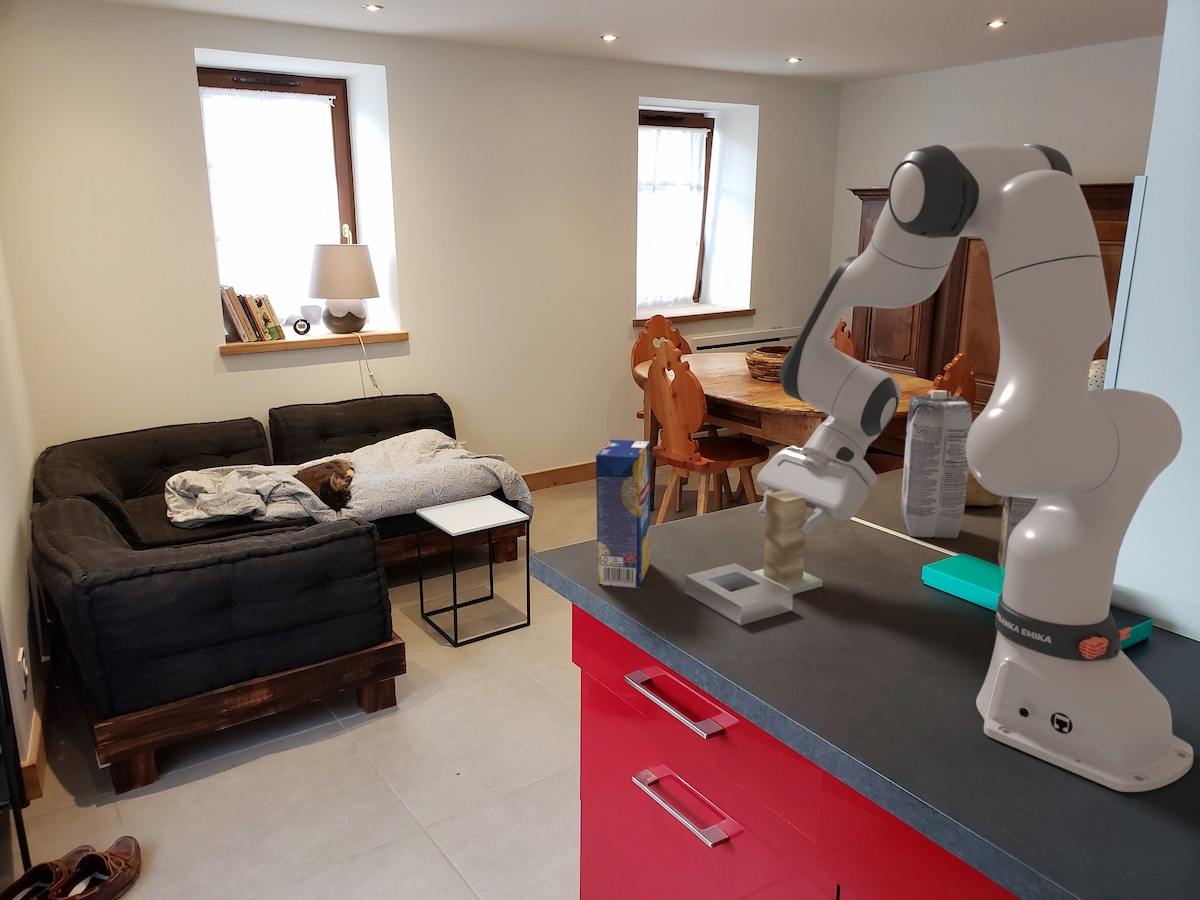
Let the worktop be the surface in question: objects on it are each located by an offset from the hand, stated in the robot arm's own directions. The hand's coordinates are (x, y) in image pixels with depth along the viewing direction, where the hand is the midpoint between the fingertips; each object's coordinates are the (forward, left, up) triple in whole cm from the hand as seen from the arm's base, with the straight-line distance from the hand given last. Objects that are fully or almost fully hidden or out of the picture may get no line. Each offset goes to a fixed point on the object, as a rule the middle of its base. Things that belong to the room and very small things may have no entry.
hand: (782, 523), depth 144 cm
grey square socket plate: (-2, +10, -10) cm, 15 cm away
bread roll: (+12, -60, -11) cm, 62 cm away
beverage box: (+17, +19, -11) cm, 28 cm away
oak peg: (0, -1, -9) cm, 9 cm away
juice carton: (+4, -41, -11) cm, 42 cm away
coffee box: (-17, -38, -11) cm, 43 cm away
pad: (0, -1, -10) cm, 10 cm away
